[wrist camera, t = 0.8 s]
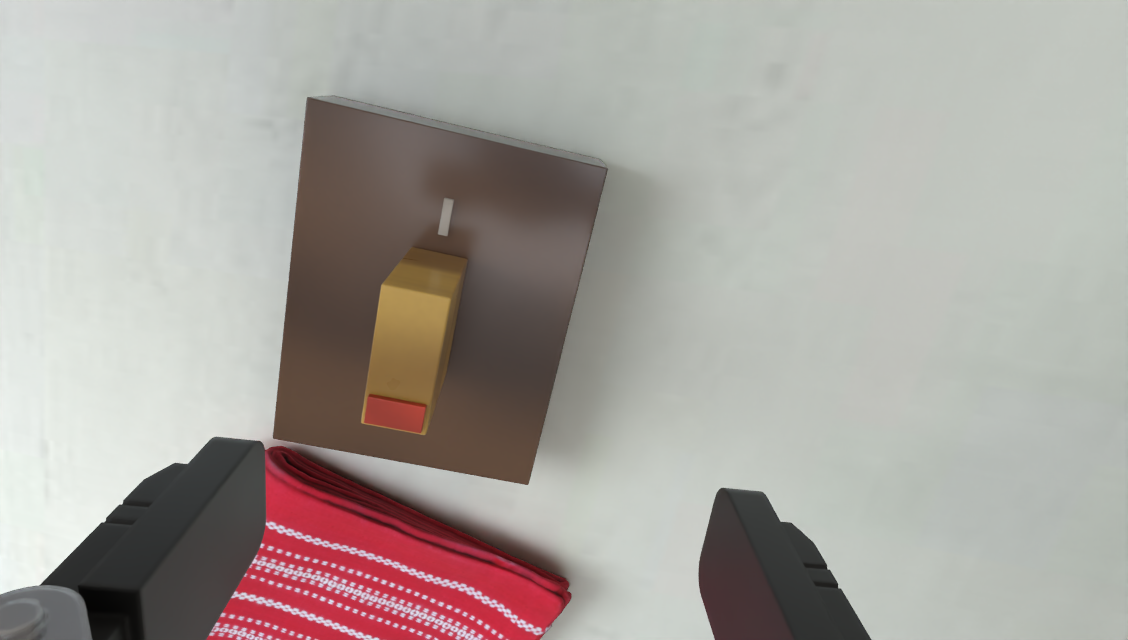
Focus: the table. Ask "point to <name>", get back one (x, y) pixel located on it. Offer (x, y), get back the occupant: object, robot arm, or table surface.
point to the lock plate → (445, 225)
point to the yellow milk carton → (413, 340)
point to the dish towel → (376, 571)
